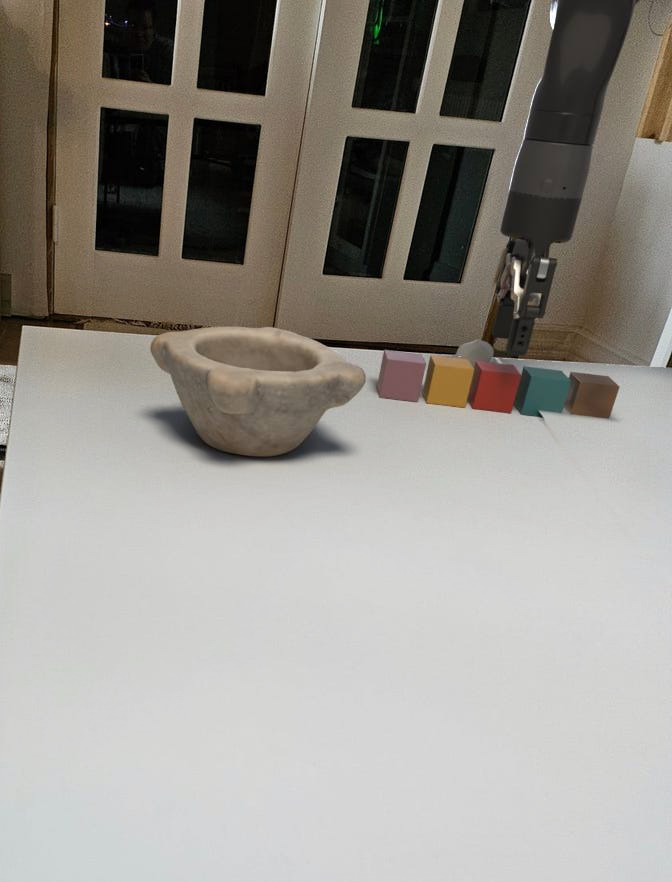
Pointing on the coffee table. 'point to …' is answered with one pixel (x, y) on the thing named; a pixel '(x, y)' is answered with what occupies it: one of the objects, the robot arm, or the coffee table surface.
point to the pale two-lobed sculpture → (475, 351)
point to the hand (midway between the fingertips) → (507, 345)
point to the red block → (493, 386)
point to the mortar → (255, 385)
